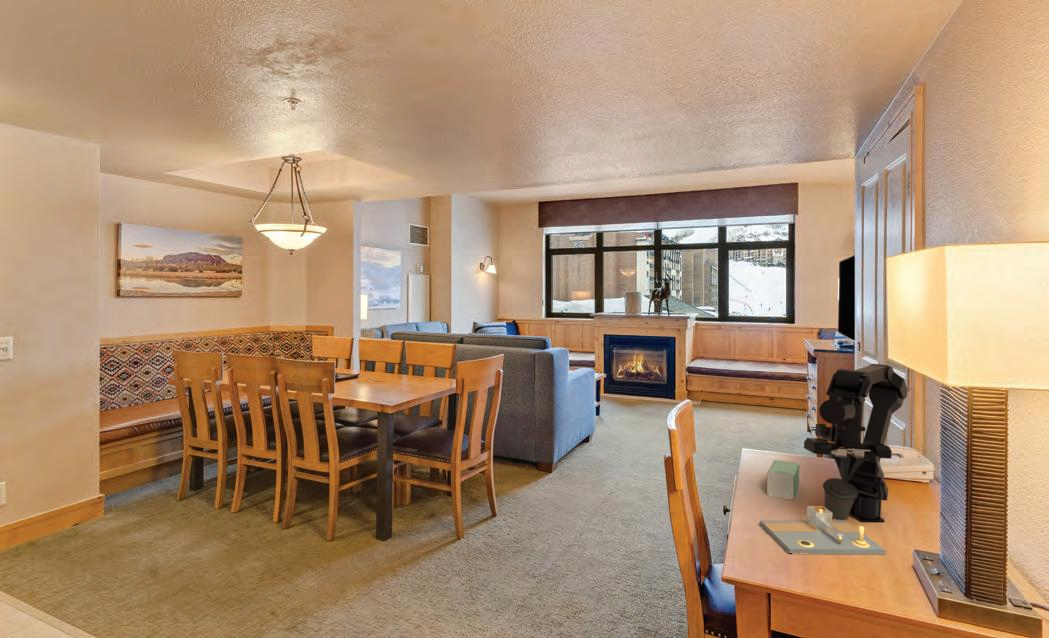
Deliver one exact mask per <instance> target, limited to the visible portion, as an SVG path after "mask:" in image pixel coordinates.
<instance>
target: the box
mask: <svg viewBox="0 0 1049 638" xmlns="http://www.w3.org/2000/svg"><path fill="white" fill-rule="evenodd" d="M800 466H801V465H800V463H796V462H791V461H785V460H779V459H777V460H773V462H772V464H771V465H770V467H769V468H768V469H767V475H766V477H767V479H766V481H767V482H766V483H767V484H766V495H768V496H770V495H772V496H771V497H774V496H777V497H776V498H779V497H782V498H781V499H784V498H787V499H786V500H789V499H793V500H794V499H795V497H796V496H797V495H796V494H797V491H798V488H799V485H800V468H801V467H800Z"/></svg>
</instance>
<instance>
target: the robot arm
mask: <svg viewBox="0 0 1049 638" xmlns="http://www.w3.org/2000/svg"><path fill="white" fill-rule="evenodd" d="M825 395H826V396H828V399H827V400H825V401H823V402H822V403H821V404H820V407H819V411H818V412H819V416H820V417H821V419H823V421H824V422H826V423H827V424H831V426H827V424H825V423H816V424H815V427H814V428H815V429H814V435H815V437H807V438H805V440H804V441H803V449H805V450H807V451H808V452H811V453H813V454H815V455H823V456H824V455H826V456H827V455H829V456H832V458H833V460H834V462H835V464H836V466H837V468H838V469H837V470H838V473H839V475H840V479H842V482H844V483H847V482H848V483H850V484H852V485H854V486H855V487H856V489H857V490H858V497H857V498H856V499H854V502H853V505H852V507H851V510H850V513H849V515H851V516H852V517H853V518H855V519H856V520H858V521H859V522H863V523H867V522H869V523H870V522H872V523H876V522H877V523H880V522H881V523H884V522H885V521H886V520H885V519H884V518H883V517H881V516H882V513H881V512H882V501H888V496H889V487H888V486H887V482H886V481H885V479H884V477H885V473H884V471H883V468H882V466H881V464H880V463H881V459H892V456H893V450H892V449H891V447H890V446H889V445H886V444H885V443H886V439H887V436H888V432H889V427H890V424H891V420H892V416H893V414H894V413H895V412H896V411H898V410H900V408H901V407H902V406H903V403H904V400H906V399H907V396H908V385H907V384H906V381H905V379H904V378H903V377H902V376H901V375H900V374H898V373H897V372H895V371H894V368H893V367H892V366H890V365H889V364H888V365H887V364H879V363H872V364H869V365H867V366H864V367H861V368H858V369H845V368H838V369H836V371H835V372H834V373H833V375H832V378H831V381H830V383H829V385H828V388H827V391H826V393H825ZM867 397H869V400H870V402H871V405H872V409H871V411H870V415H869V419H868V423H867V425H866V426H867V427H866V426H863V419H864V403H865V402H866V398H867ZM863 432H865V433H864V436H863V441H862V433H863ZM816 437H818V438H816ZM819 437H820V438H819Z"/></svg>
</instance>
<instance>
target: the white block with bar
mask: <svg viewBox="0 0 1049 638" xmlns="http://www.w3.org/2000/svg"><path fill="white" fill-rule="evenodd" d="M806 510H807V513H806V514H807V515H806V521H807V524H808V525H809V526H811V527H812V528H813V529H814V530H815V531H831V532H832V533H833V534H834V535H836V536H837V537H838V540H837V541H838V542H839V543H842V537H843V533H841V532H840V531H839V530H837V529H836V528H835V527H833V526H832V521H833V519H832V514H833V513H832V512H831V511H829V510H828V509H826V508H825V505H807V507H806Z"/></svg>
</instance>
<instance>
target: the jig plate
mask: <svg viewBox="0 0 1049 638" xmlns="http://www.w3.org/2000/svg"><path fill="white" fill-rule="evenodd" d="M759 525H760V527H761V528H763V530H765V532H766V533H767V534H768V535H770V537H772V539H773V540H775V541H776V543H778V545H780V546H781V547H782V548H783V550H785V551H786V552H787V553H788V554H789V553H811V554H810V555H869V556H870V555H872V556H873V555H878V556H879V555H880V556H881V555H885V554H886V549H885V548H884V547H882V546H881V545H880V544H878V543H877V542H875V541H874V540H872V539H871V538H870V537H868V536H867V535H865V526H863V525H858V528H856V527H855V526H853V525H852V524H851V523H849V522H847V521H846V520H832V526H833V527H835V528H836V529H837V530H839V531H840V532H841V533H843V537H842V543H839V542H838V541H837V540H838V537H837V536H836V535H834V534H833V533H832V532H831V531H815V530H814V529H813V528H812V527H811V526H809V525H808V524H807V520H779V519H778V520H776V519H775V520H771V519H768V520H765V519H762V520H761V519H760V520H759Z"/></svg>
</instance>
